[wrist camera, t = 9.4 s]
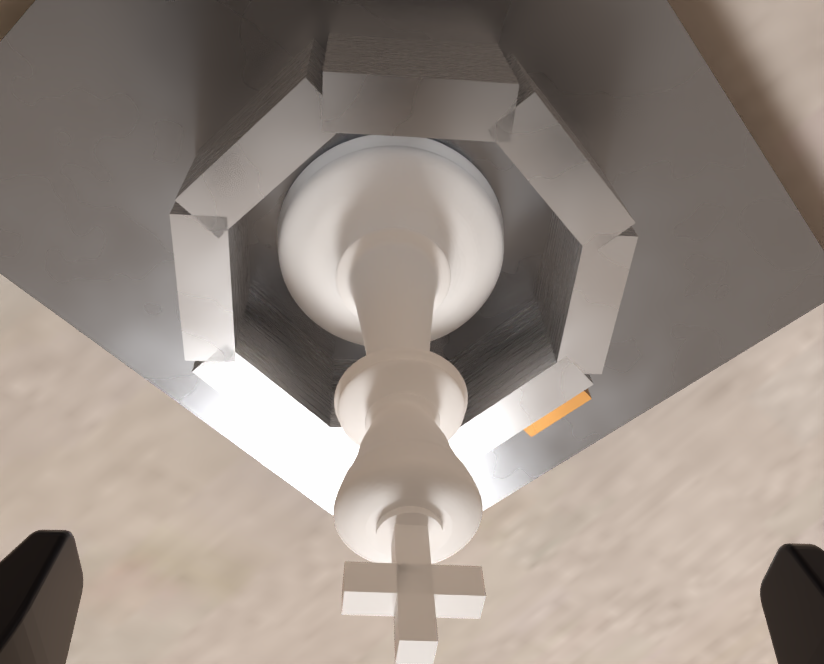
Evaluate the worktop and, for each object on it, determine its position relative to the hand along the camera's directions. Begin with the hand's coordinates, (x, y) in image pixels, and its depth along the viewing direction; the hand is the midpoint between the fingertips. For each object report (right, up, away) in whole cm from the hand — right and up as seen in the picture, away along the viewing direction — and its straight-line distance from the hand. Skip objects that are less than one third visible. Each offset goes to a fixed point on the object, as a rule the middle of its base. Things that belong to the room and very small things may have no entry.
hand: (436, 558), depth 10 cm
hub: (-1, +5, +8) cm, 10 cm away
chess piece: (-1, +5, +7) cm, 9 cm away
